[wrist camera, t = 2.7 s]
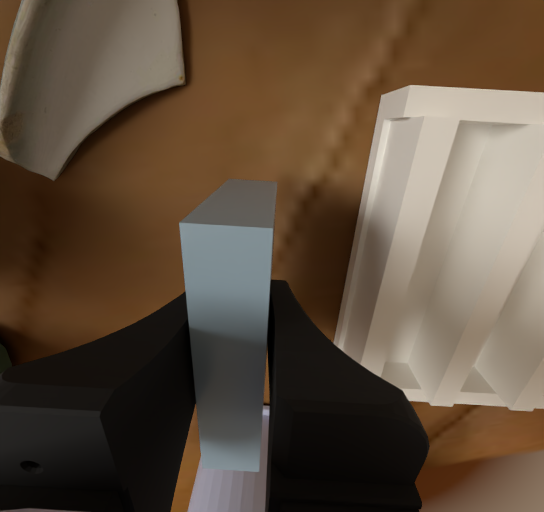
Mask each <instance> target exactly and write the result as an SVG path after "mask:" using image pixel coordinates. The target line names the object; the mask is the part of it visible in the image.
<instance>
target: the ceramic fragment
mask: <svg viewBox="0 0 544 512" xmlns="http://www.w3.org/2000/svg"><path fill="white" fill-rule="evenodd" d="M177 1H178V0H22V2H21V5H20V8H19V11H18V14H17V17H16V20H15V23H14V26H13V30H12V34H11V37H10V41H9V45H8V49H7V53H6V57H5V63H4V68H3V74H2V79H1V85H0V157H2V158H4V159H6V160H8V161H11V162H13V163H16V164H18V165H20V166H21V167H23V168H25V169H27V170H29V171H32V172H35V173H38V174H41V175H43V176H46V177H48V178H50V179H51V180H53V181H55V180H56V179H57V178H58V177H59V176H60V174H61V173H62V171H63V170H64V169H65V167H66V166H67V165H68V163H69V162H70V160H71V159H72V158H73V156H74V155H75V153H76V152H77V151H78V148H79V146H80V145H81V144H82V143H83V142H84V140H85V139H86V138H87V137H88V136H89V135H91V134H92V133H93V132H95V131H96V130H97V129H98V128H99V127H101V126H102V125H103V124H104V123H106V122H107V121H108V120H109V119H111V118H112V117H114V116H115V115H116V114H118V113H119V112H120V111H122V110H124V109H125V108H127V107H128V106H130V105H132V104H134V103H135V102H137V101H139V100H141V99H143V98H145V97H147V96H150V95H152V94H154V93H157V92H160V91H163V90H166V89H168V88H172V87H175V86H181V85H186V79H185V65H184V56H183V46H182V37H181V23H180V14H179V7H178V4H177Z"/></svg>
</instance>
